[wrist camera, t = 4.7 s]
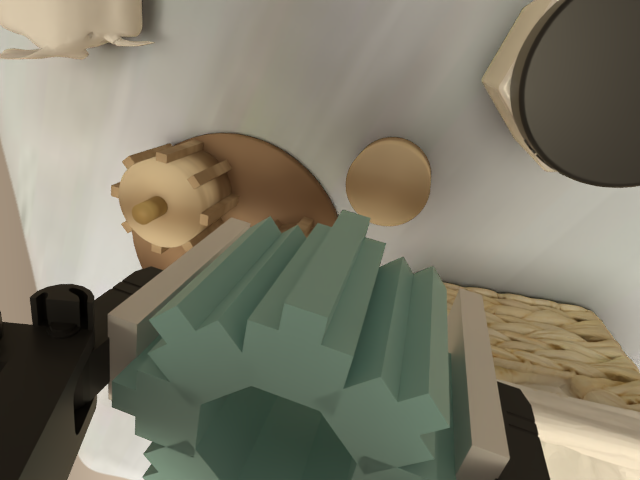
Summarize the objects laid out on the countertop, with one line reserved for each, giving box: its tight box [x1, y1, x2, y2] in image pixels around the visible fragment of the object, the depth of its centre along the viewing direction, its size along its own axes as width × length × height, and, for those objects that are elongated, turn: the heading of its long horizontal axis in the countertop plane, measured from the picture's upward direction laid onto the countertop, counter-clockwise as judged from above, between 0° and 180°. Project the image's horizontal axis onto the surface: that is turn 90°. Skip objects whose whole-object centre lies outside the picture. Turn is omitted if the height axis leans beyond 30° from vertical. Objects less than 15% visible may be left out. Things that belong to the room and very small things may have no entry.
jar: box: [482, 0, 640, 188], centre depth 21 cm, size 9×8×12 cm
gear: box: [112, 210, 456, 480], centre depth 11 cm, size 8×8×5 cm
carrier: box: [111, 133, 338, 270], centre depth 33 cm, size 19×19×8 cm
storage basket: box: [443, 283, 640, 480], centre depth 31 cm, size 24×16×15 cm
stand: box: [346, 137, 431, 226], centre depth 30 cm, size 6×6×3 cm
